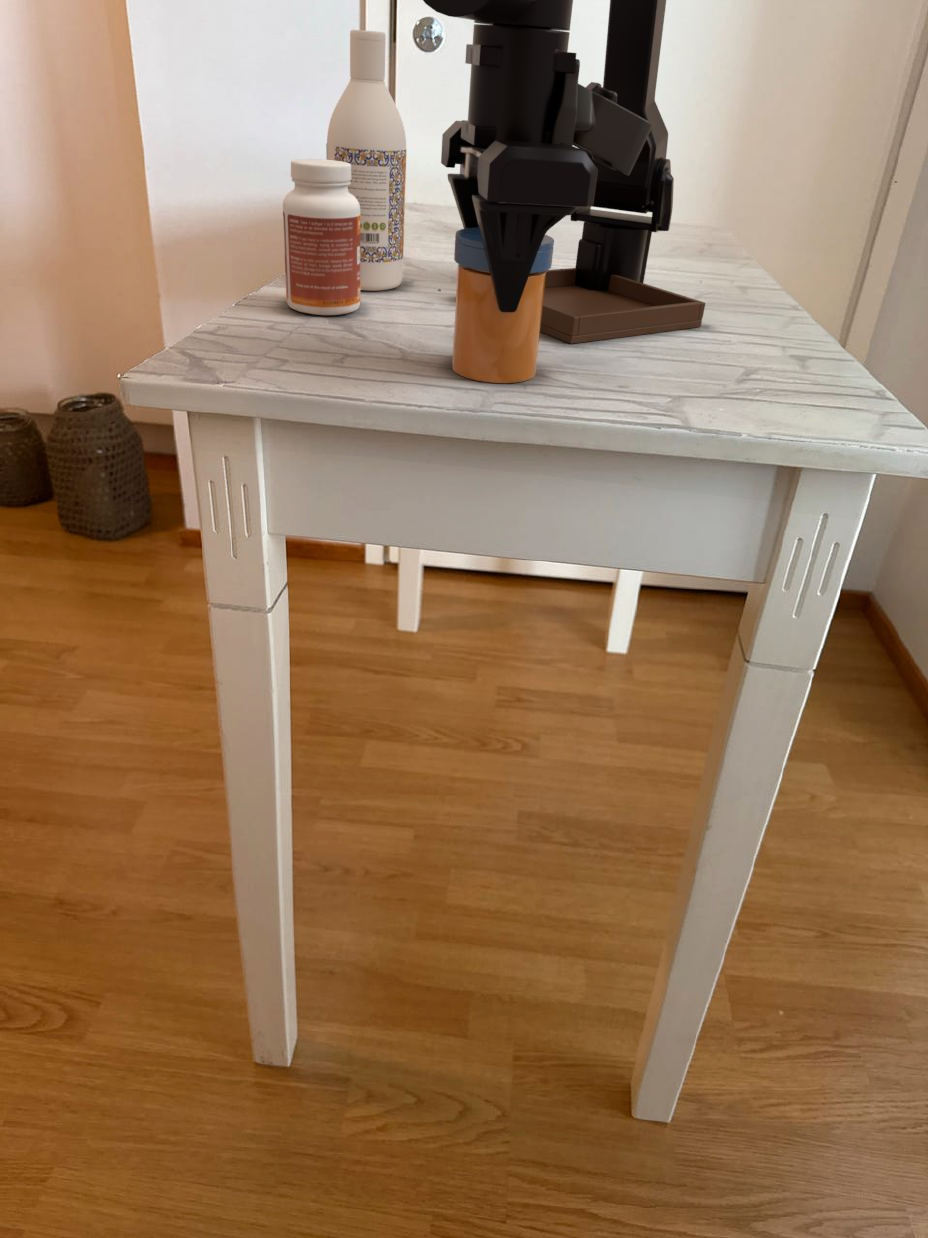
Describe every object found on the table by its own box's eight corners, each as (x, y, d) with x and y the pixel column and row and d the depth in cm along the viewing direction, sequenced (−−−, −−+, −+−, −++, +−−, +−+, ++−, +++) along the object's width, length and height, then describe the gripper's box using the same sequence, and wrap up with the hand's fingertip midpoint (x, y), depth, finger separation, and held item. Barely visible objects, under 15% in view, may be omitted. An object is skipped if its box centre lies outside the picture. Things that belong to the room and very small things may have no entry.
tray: (587, 288, 89) (590, 266, 88) (701, 326, 79) (706, 302, 78) (462, 299, 82) (464, 275, 80) (570, 343, 71) (574, 317, 70)
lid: (446, 251, 62) (448, 224, 61) (537, 254, 63) (540, 228, 63) (463, 272, 57) (464, 243, 56) (562, 274, 58) (565, 247, 57)
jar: (502, 353, 68) (512, 234, 63) (552, 376, 64) (567, 251, 59) (435, 363, 65) (441, 238, 60) (484, 387, 60) (494, 256, 56)
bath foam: (413, 290, 83) (423, 34, 73) (343, 293, 80) (342, 27, 70) (386, 274, 88) (391, 33, 78) (318, 276, 86) (314, 26, 75)
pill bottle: (373, 313, 75) (375, 166, 69) (306, 319, 72) (302, 166, 66) (339, 296, 79) (338, 156, 73) (274, 301, 76) (268, 156, 70)
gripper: (710, 40, 47) (655, 341, 55) (604, 39, 62) (574, 274, 71) (502, 21, 45) (478, 336, 53) (446, 25, 60) (434, 269, 69)
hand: (497, 299), depth 61 cm, fingers closed on lid, 6 cm apart
